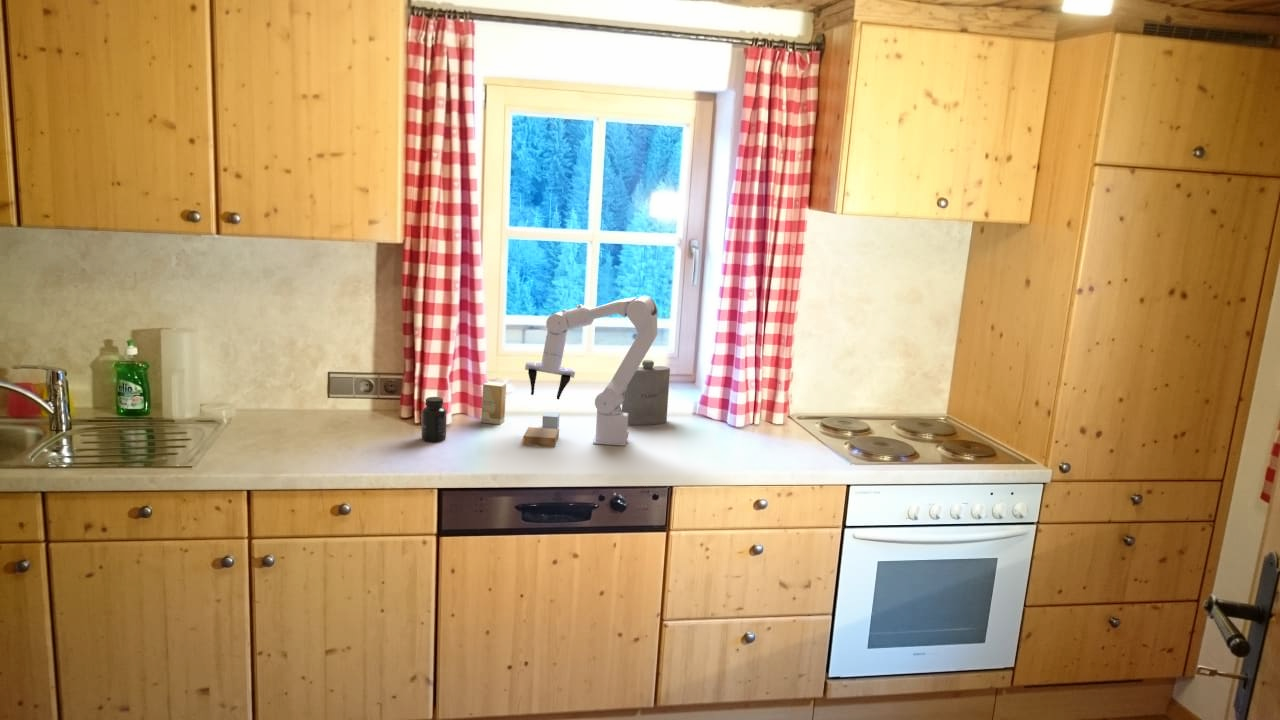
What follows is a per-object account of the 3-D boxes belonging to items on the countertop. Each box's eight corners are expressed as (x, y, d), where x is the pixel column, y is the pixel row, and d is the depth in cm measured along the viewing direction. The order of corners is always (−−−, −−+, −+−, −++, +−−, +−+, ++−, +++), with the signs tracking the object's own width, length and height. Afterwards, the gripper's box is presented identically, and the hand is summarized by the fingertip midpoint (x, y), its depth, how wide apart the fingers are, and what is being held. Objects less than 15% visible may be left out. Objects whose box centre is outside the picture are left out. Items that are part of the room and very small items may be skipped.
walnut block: (558, 438, 275) (558, 429, 274) (554, 448, 266) (555, 438, 265) (528, 436, 275) (528, 427, 274) (523, 446, 266) (523, 436, 266)
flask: (624, 426, 290) (628, 363, 286) (619, 420, 295) (622, 359, 291) (669, 424, 295) (673, 362, 291) (663, 418, 300) (667, 358, 296)
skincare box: (480, 422, 285) (481, 383, 282) (485, 419, 289) (486, 380, 286) (501, 424, 284) (502, 385, 281) (505, 421, 288) (506, 382, 285)
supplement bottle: (416, 440, 264) (416, 399, 262) (430, 434, 271) (430, 394, 268) (437, 444, 262) (437, 403, 259) (450, 438, 268) (451, 397, 266)
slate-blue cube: (558, 427, 285) (559, 413, 284) (557, 431, 281) (557, 417, 280) (544, 426, 285) (544, 412, 284) (542, 430, 281) (542, 416, 280)
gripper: (577, 353, 278) (569, 395, 281) (528, 344, 276) (521, 387, 279) (578, 359, 271) (569, 403, 275) (528, 350, 269) (520, 395, 272)
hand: (545, 396), depth 276 cm, fingers open, 7 cm apart
